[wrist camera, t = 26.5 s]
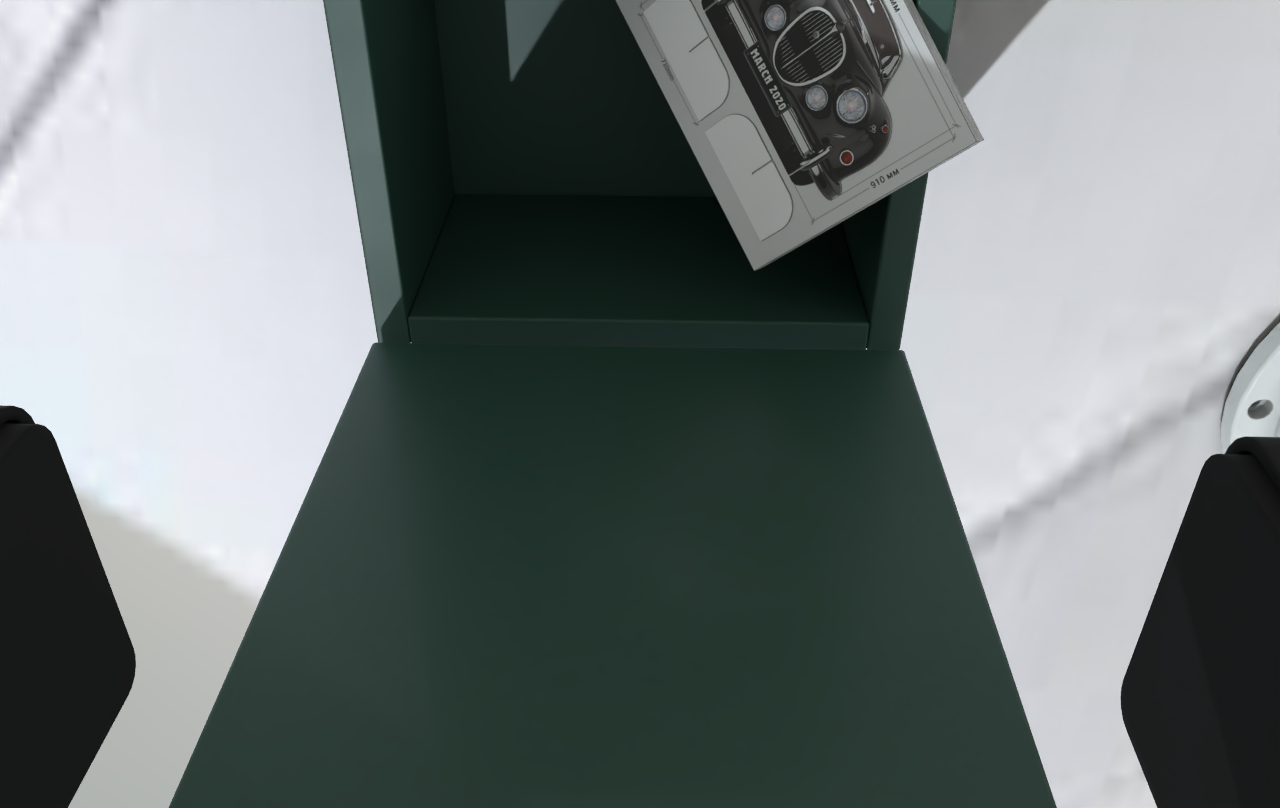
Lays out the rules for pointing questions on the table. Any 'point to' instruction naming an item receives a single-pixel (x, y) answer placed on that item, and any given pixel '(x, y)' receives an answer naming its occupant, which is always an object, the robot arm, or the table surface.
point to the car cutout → (802, 106)
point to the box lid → (623, 596)
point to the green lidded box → (576, 193)
